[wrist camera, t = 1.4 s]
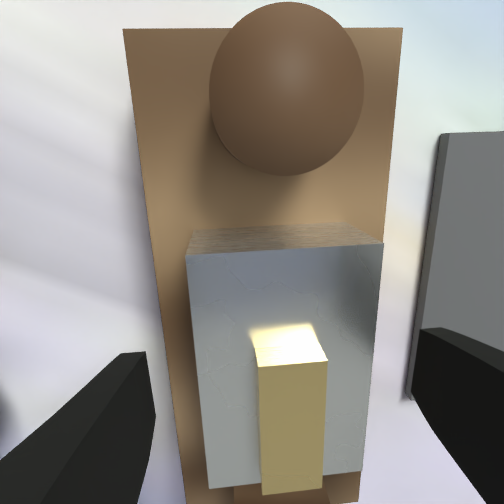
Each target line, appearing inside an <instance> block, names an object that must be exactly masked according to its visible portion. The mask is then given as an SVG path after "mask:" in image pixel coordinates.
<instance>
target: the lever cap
mask: <svg viewBox="0 0 504 504" xmlns="http://www.w3.org/2000/svg"><path fill="white" fill-rule="evenodd" d="M383 248H384V243H383V242H381V241H379V240H377V239H375V238H374V237H372V236H370V235H368V234H366V233H365V232H363V231H361V230H359V229H357V228H356V227H354V226H352V225H350V224H348V223H347V222H329V223H310V224H292V225H273V226H255V227H236V228H218V229H200V230H194V231H193V234H192V237H191V240H190V243H189V246H188V249H187V251H186V254H185V259H186V268H187V278H188V288H189V298H190V307H191V317H192V327H193V337H194V346H195V356H196V366H197V376H198V386H199V395H200V405H201V415H202V425H203V434H204V444H205V454H206V464H207V473H208V483H209V489H214V488H222V487H230V486H239V485H247V484H255V483H261V488H262V495H270V494H278V493H286V492H295V491H303V490H311V489H319V488H322V477H323V475H331V474H339V473H348V472H356V471H362V467H363V457H364V446H365V436H366V425H367V415H368V405H369V394H370V384H371V373H372V363H373V352H374V342H375V332H376V321H377V311H378V300H379V290H380V280H381V269H382V259H383Z"/></svg>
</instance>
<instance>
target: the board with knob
mask: <svg viewBox="0 0 504 504" xmlns="http://www.w3.org/2000/svg"><path fill="white" fill-rule="evenodd" d="M402 33H403V28H342V26H341V25H340V24H339V23H338V22H337V21H336V20H334V19H333V18H332V17H331V16H330V15H328V14H326V13H325V12H323V11H321V10H320V9H317V8H315V7H313V6H310V5H306V4H302V3H296V2H279V3H274V4H270V5H266V6H263V7H261V8H258V9H256V10H254V11H253V12H251V13H249V14H248V15H246V16H245V17H244V18H242V19H241V20H240V21H239V22H237V23H236V25H235V26H234V27H233V28H184V29H123V36H124V44H125V51H126V59H127V66H128V74H129V81H130V88H131V96H132V103H133V111H134V118H135V125H136V133H137V140H138V148H139V155H140V163H141V170H142V177H143V185H144V192H145V200H146V207H147V215H148V222H149V229H150V237H151V244H152V252H153V259H154V266H155V274H156V281H157V289H158V296H159V304H160V311H161V318H162V326H163V333H164V341H165V348H166V356H167V363H168V370H169V378H170V385H171V393H172V400H173V408H174V415H175V422H176V430H177V437H178V445H179V452H180V459H181V467H182V474H183V482H184V489H185V497H186V504H343V503H351V502H358V498H359V488H360V477H361V471H356V472H348V473H339V474H331V475H323V477H322V488H319V489H311V490H303V491H295V492H286V493H278V494H270V495H262V488H261V483H255V484H247V485H239V486H230V487H222V488H214V489H209V483H208V473H207V464H206V454H205V444H204V434H203V425H202V415H201V405H200V395H199V386H198V376H197V366H196V356H195V346H194V337H193V327H192V317H191V307H190V298H189V288H188V278H187V268H186V259H185V254H186V251H187V249H188V246H189V243H190V240H191V237H192V234H193V231H194V230H200V229H218V228H236V227H255V226H273V225H292V224H310V223H329V222H347V223H348V224H350V225H352V226H354V227H356V228H357V229H359V230H361V231H363V232H365V233H366V234H368V235H370V236H372V237H374V238H375V239H377V240H379V241H381V242H383V234H384V223H385V213H386V202H387V192H388V181H389V171H390V160H391V149H392V139H393V128H394V118H395V107H396V97H397V86H398V75H399V65H400V54H401V44H402Z"/></svg>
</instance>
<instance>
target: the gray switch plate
mask: <svg viewBox="0 0 504 504" xmlns="http://www.w3.org/2000/svg"><path fill="white" fill-rule="evenodd" d="M437 327H442V328H446V329H449V330H452V331H454V332H457V333H460V334H462V335H465V336H468V337H470V338H472V339H475V340H477V341H480V342H482V343H485V344H487V345H489V346H492V347H494V348H496V349H499V350H501V351H503V352H504V131H499V132H468V133H445V134H441V136H440V144H439V151H438V158H437V166H436V173H435V180H434V187H433V195H432V202H431V209H430V216H429V224H428V231H427V238H426V246H425V253H424V260H423V267H422V275H421V282H420V289H419V296H418V304H417V311H416V318H415V326H414V333H413V340H412V347H411V355H410V362H409V369H408V376H407V384H406V391H405V393H406V395H407V396H408V397H409V399H410V400H415V399H414V397H413V395H412V393H411V385H412V378H413V371H414V364H415V358H416V351H417V344H418V337H419V330H420V329H425V328H437Z"/></svg>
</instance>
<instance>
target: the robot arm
mask: <svg viewBox="0 0 504 504" xmlns="http://www.w3.org/2000/svg"><path fill="white" fill-rule="evenodd" d="M411 393H412V395H413V397H414V399H415V401H416V403H417V404H418V406H419V408H420V410H421V412H422V413H423V415H424V417H425V418H426V420H427V422H428V424H429V425H430V427H431V429H432V430H433V431H434V433H435V434H436V436H437V437H438V439H439V440H440V441H441V443H442V444H443V445H444V447H445V448H446V450H447V451H448V452H449V454H450V455H451V456H452V458H453V459H454V460H455V462H456V463H457V465H458V466H459V467H460V469H461V470H462V471H463V473H464V474H465V475H466V477H467V478H468V479H469V481H470V482H471V483H472V485H473V486H474V487H475V489H476V490H477V491H478V493H479V494H480V496H481V497H482V498H483V500H484V501H485V502H486V504H504V352H503V351H501V350H499V349H496V348H494V347H492V346H489V345H487V344H485V343H482V342H480V341H477V340H475V339H472V338H470V337H468V336H465V335H462V334H460V333H457V332H454V331H452V330H449V329H446V328H442V327H437V328H425V329H420V330H419V337H418V344H417V351H416V358H415V364H414V371H413V378H412V385H411ZM155 419H156V414H155V408H154V402H153V395H152V389H151V383H150V376H149V370H148V364H147V358H146V351H145V352H132V353H121V354H119V355H118V356H117V357H116V358H115V359H114V360H113V361H111V362H110V363H109V364H108V365H107V366H106V367H105V368H104V369H103V370H102V371H101V372H100V373H99V374H97V375H96V376H95V377H94V378H93V379H92V380H91V381H90V382H89V383H88V384H87V385H86V386H85V387H84V388H82V389H81V390H80V391H79V392H78V393H77V394H76V395H75V396H74V397H73V398H72V399H70V400H69V401H68V402H67V403H66V404H65V405H64V406H63V407H62V408H61V409H59V410H58V411H57V412H56V413H55V414H54V415H53V416H52V417H51V418H49V419H48V420H47V421H46V422H45V423H44V424H42V425H41V426H40V427H39V428H38V429H36V430H35V431H34V432H33V433H32V434H31V435H29V436H28V437H27V438H26V439H25V440H23V441H22V442H21V443H20V444H19V445H18V446H16V447H15V448H14V449H13V450H12V451H11V452H9V453H8V454H7V455H6V456H5V457H3V458H2V459H1V460H0V504H137V502H138V498H139V495H140V491H141V487H142V484H143V480H144V476H145V473H146V469H147V465H148V461H149V456H150V450H151V445H152V439H153V432H154V425H155Z"/></svg>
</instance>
